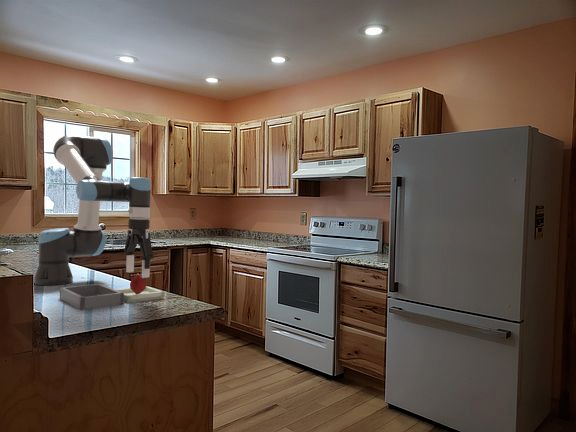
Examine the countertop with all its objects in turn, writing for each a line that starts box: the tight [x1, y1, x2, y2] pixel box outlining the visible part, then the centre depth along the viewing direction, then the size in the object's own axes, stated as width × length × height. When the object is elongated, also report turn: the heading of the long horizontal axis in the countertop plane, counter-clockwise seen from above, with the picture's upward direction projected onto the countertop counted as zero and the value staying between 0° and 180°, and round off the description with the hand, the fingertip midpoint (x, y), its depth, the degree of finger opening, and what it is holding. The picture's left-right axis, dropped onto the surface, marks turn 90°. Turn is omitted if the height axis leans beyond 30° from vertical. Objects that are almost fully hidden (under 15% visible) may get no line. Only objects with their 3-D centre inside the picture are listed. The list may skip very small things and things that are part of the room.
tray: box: [116, 285, 165, 304], centre depth 168 cm, size 14×14×2 cm
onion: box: [129, 273, 147, 294], centre depth 168 cm, size 6×6×8 cm
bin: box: [59, 283, 125, 311], centre depth 159 cm, size 22×14×4 cm, turn 43°
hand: (137, 274), depth 168 cm, fingers open, 13 cm apart
